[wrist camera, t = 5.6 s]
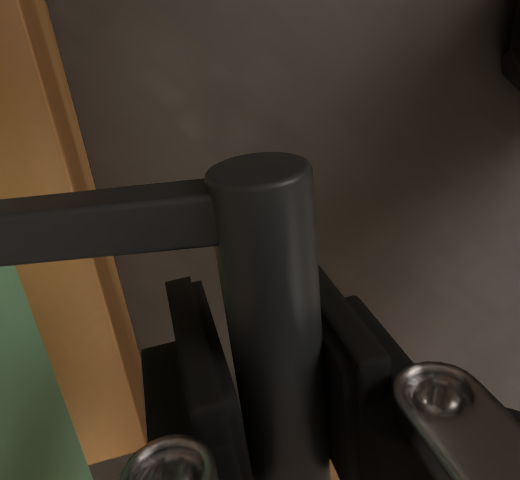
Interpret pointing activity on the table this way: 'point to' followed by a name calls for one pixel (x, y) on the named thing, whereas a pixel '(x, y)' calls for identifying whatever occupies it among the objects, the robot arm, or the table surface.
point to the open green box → (234, 295)
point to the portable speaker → (513, 52)
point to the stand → (69, 271)
